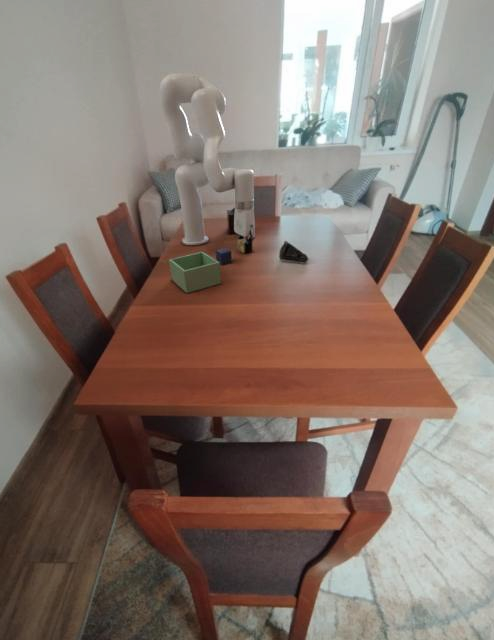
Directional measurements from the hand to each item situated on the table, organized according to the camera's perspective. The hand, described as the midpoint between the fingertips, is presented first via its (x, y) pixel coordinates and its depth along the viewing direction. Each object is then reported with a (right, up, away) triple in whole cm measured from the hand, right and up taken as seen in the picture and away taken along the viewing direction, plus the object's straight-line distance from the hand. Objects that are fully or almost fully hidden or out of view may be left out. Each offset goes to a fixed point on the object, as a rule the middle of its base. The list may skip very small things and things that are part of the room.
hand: (245, 250), depth 144 cm
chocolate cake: (+20, -8, -10) cm, 24 cm away
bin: (-19, -20, -23) cm, 36 cm away
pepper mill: (-2, +20, +25) cm, 32 cm away
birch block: (0, 0, 0) cm, 0 cm away
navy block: (-9, -8, -9) cm, 15 cm away
